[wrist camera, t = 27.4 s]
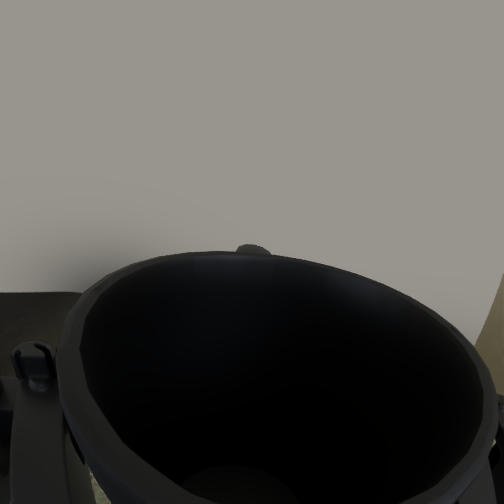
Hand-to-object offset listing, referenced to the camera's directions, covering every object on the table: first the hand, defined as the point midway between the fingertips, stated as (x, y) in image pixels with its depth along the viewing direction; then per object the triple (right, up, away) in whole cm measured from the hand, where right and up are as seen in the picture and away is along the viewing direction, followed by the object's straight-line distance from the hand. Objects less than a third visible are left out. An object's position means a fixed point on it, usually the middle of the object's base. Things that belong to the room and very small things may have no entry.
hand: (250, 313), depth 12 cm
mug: (-1, -7, -3) cm, 8 cm away
